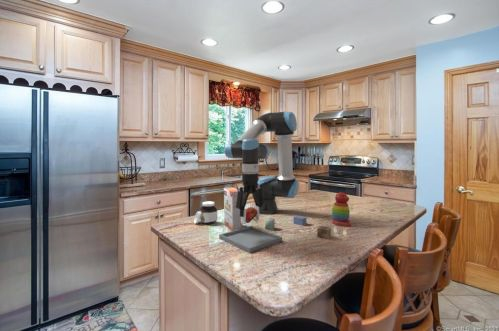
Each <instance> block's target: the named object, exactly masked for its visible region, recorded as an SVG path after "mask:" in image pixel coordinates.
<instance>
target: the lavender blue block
mask: <svg viewBox="0 0 499 331" xmlns="http://www.w3.org/2000/svg"><path fill="white" fill-rule="evenodd" d="M293 224H294V225H299V226H305V225H307V216H303V215H294V216H293Z"/></svg>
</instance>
